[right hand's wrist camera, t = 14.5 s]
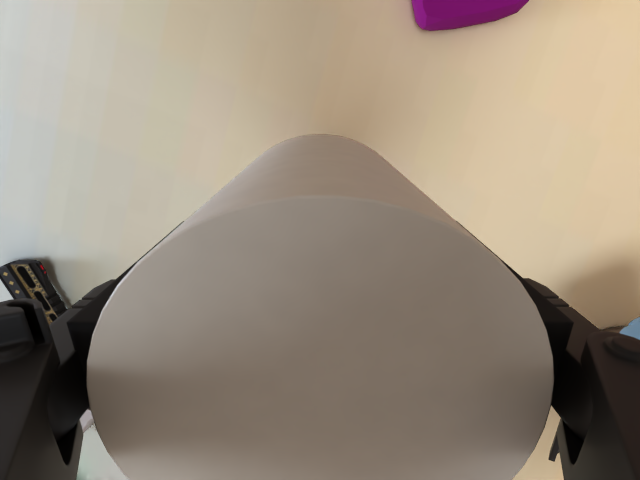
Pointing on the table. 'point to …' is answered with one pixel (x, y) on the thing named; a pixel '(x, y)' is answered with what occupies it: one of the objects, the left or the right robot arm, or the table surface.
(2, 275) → the decorative firearm
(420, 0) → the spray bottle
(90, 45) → the table surface
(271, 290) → the can
